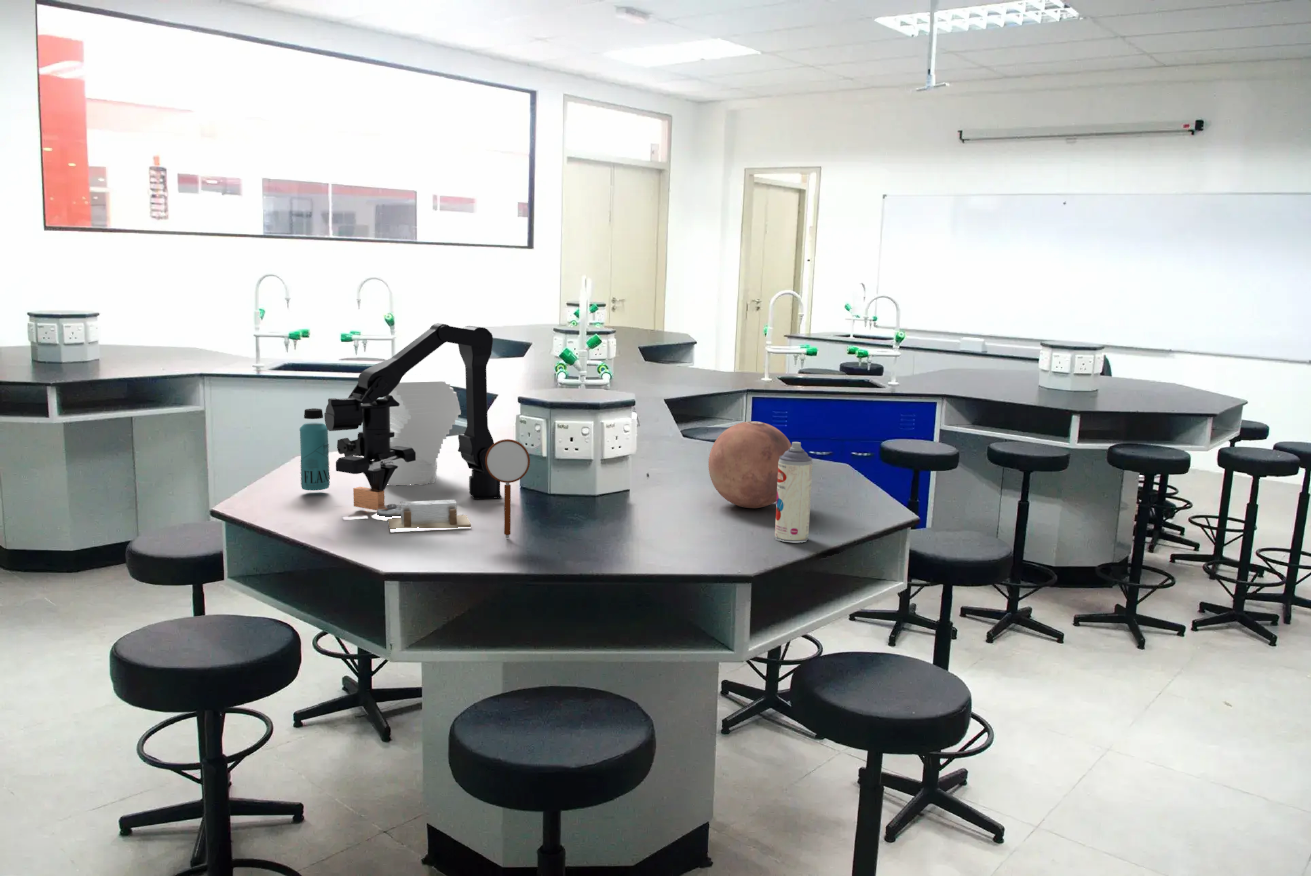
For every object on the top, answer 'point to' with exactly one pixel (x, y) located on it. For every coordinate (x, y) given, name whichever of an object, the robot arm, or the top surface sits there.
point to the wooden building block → (374, 501)
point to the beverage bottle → (314, 452)
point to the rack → (454, 523)
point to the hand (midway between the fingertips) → (377, 498)
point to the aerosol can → (793, 494)
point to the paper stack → (421, 425)
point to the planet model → (747, 463)
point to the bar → (428, 511)
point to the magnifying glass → (507, 470)
